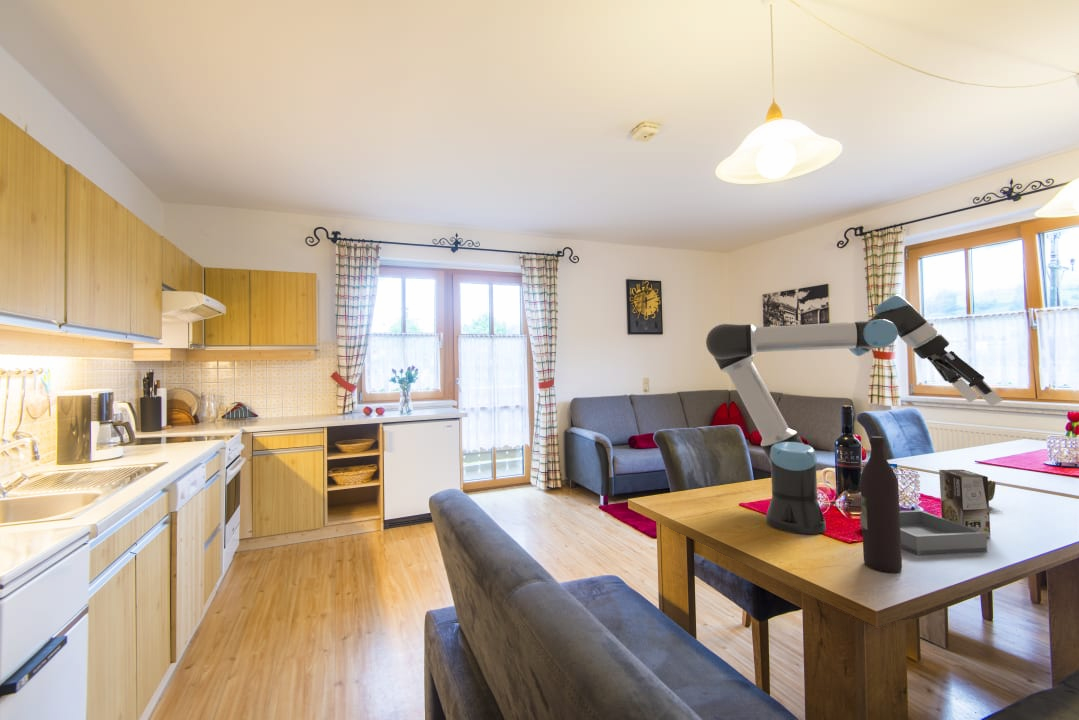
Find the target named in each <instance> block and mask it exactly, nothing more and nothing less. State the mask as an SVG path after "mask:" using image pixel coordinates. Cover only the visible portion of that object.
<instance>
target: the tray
mask: <svg viewBox="0 0 1079 720" xmlns="http://www.w3.org/2000/svg"><path fill="white" fill-rule="evenodd" d="M859 518H860V520H859V521H860V529H861V530H862V512H860V516H859ZM900 533H901V549H903V550H905V551H907V552H909V553H912V554H914V555H916V556H925V555H926V556H928V555H943V554H944V555H947V554H948V555H949V554H965V553H968V554H969V553H982V552H983V553H984V551H987V552H988V545H987V544H988V540H987V538H988V537H986V533H984V532H981V531H979V530H976V529H973V528H970V527H967V526H964V525H961V524H959V523H956V522H953V521H950V520H947V519H944V518H942V516H938V515H936V514H932V513H930V512H927V511H924V510H921V509H920V510H917V509H915V510H900Z"/></svg>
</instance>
